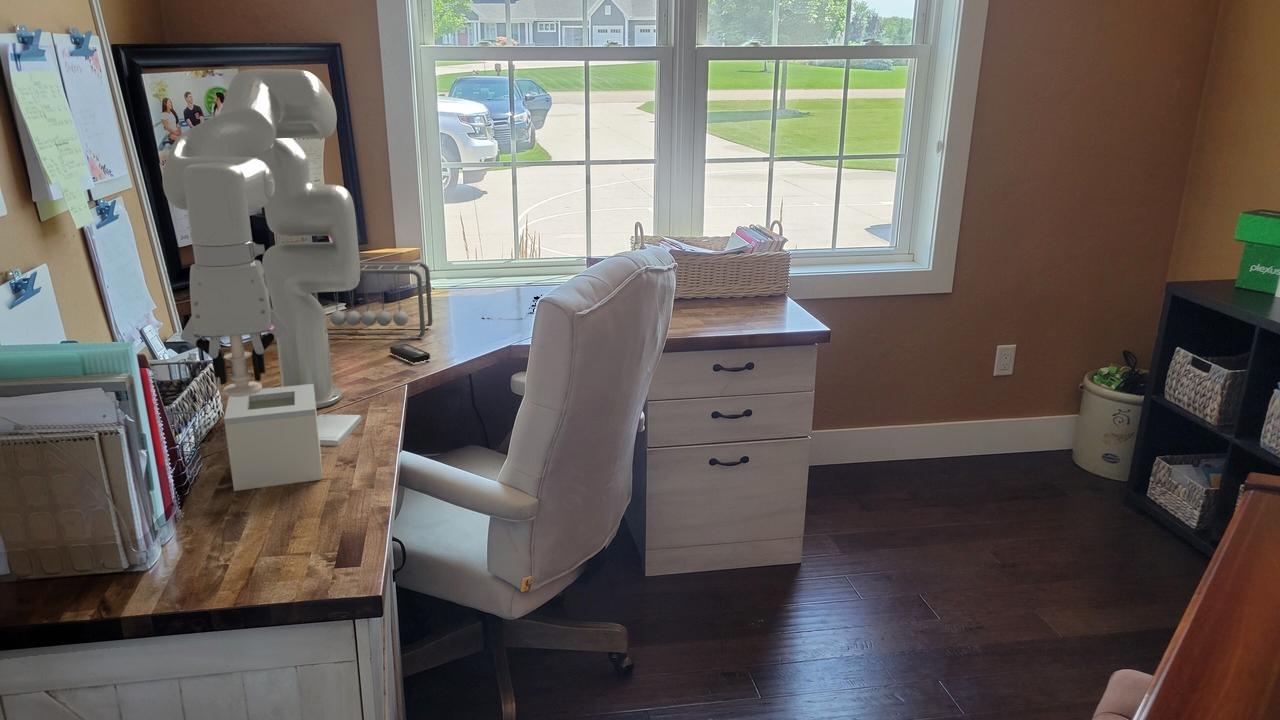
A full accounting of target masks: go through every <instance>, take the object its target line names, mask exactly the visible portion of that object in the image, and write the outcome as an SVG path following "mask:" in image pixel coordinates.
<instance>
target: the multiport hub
mask: <svg viewBox="0 0 1280 720" xmlns="http://www.w3.org/2000/svg"><path fill="white" fill-rule="evenodd" d="M389 353H392V354H394V355H397V356H399V357H401V358H403V359H406V360H408V361H410V362H413V363H415V362H420V361H424V360H428V359H430V360H431V356H430V355H431V353H430V352H427V351H425V350H422V349H419V348H417V347H415V346H412V345H410V344H407V343H403V344H399V345H398V344H397V345H392V346H390V347H389Z"/></svg>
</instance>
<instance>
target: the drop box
mask: <svg viewBox="0 0 1280 720" xmlns="http://www.w3.org/2000/svg"><path fill="white" fill-rule="evenodd" d="M317 416H318V413H317V409H316V402H315V392H314V384H307V385H296V386H286V387H282V386H277V387H267V388H262V390H261V391H260V392H258V393H256V394H253V395H249V396H242V397H230V396H228V399H227V404H226V408H225V412H224V417H223V420H224V421H223V422H224V428H225V435H226V437H225V438H226V442H227V451H228V455H229V457H228V458H229V465H230V471H231V480H232V486H233V492H236V491H243V490H244V491H245V490H252V489H259V488H267V487H275V486H283V485H290V484H296V483H305V482H312V481H318V480H319V481H321V480H323V467H322V465H323V464H322V452H321V445H320V440H319V430H318V421H317Z"/></svg>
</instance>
